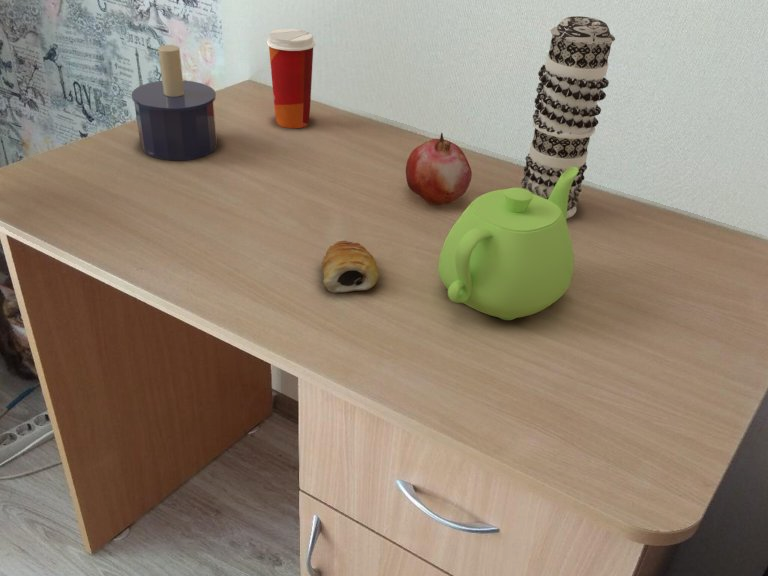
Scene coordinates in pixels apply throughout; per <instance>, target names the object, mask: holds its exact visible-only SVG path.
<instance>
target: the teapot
mask: <svg viewBox="0 0 768 576" xmlns="http://www.w3.org/2000/svg"><path fill="white" fill-rule="evenodd" d="M577 174H578V168H577V167H571V168H569V169H567V170H566V171H565V172H564V173H563V174H562V175H561V176H560V178H559V180H558V181H557V183H556V185H555V187H554V189H553V191H552V193H551V195H550V196H549V198H548V200H547V199H545V198H542V197H540V196H538V195H535V194H532V192H530V191H528V190H526V189H523V188H521V187H509V188H504V189H503V188H502V189H497V190H493V191H492V190H491V191H488V192H486V193H484V194H482V195H479V196H478V197H476V198H475V199H474V200H472V201H471V203H470V204H468V206H467V207H466V209H465V210H464V211H463V212H462V213H461V215H460V216H459V217H458V218H457V220H456V222H455V223H454V225H452V228H451V229H450V230H449V233H448V234H447V236H446V238H445V241H444V243H443V246H442V248H441V251H440V254H439V259H438V264H437V265H438V266H437V271H438V276H439V278H440V280H441V282H442V284H443V286H445V288H446V290H447V297H448V298H449V300H450V301H451V302H452V303H455V304H464V305H466V306H468V307H470V308H471V309H473V310H476V311H477V312H481V313H483V314H486V315H488V316H492V317H497V318H499V319H501V320H504V321H513V320H515V319H516V318H518V319H519V318H523V317H527V316H531V315H534V314H537V313H540V312H542V311H544V310H545V309H547V308H549V307H550V306H551V305H552V304H554V303H555V302H556V301H558V300H559V299H561V297H562V296H563V295H565V293H566V291H567V290H568V289H569V287H570V285H571V284H572V280H573V279H572V278H573V273H574V263H575V260H574V259H575V258H574V255H575V254H574V246H573V240H572V236H571V233H570V230H569V226H568V224H567V219H568V218H567V206H568V196H569V192H570V188H571V185H572V183H573V181H574V179H575V177H576V175H577Z"/></svg>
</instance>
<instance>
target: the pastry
mask: <svg viewBox="0 0 768 576" xmlns="http://www.w3.org/2000/svg"><path fill="white" fill-rule="evenodd" d="M321 268H322V274H323V281H322V283H323V285H324V287H326V289H327V291H329V292H331V293H334V294H337V293H339V294H340V293H349V292H353V291H354V292H355V291H357V292H358V291H368V290H370V289H371V288H373V287H374V286H375V285H376V284H377V282H378V280H379V277H380V272H379V267H378V265H377V261H376V259H375V258H374V256H373V255H372V254H371V253H370V252H369V251H368V250H367V248H366V247H364V246H363V245H362V244H360V243H359V242H353V241H348V240H339V241H337V242H335V243H334V244H333V245H330V246H329V247H328V248H327V250H326V252H325V255H324V256H323V259H322V262H321Z"/></svg>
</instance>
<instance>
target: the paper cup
mask: <svg viewBox="0 0 768 576" xmlns="http://www.w3.org/2000/svg"><path fill="white" fill-rule="evenodd" d="M266 44H267V47H268V50H269V63H270V72H271V73H270V74H271V85H272V95H273V106H274V115H275V123H276V125H278V126H280V127H282V128H286V129H301V128H305V127H307V126H309V124H310V114H311V100H312V98H311V97H312V82H313V81H312V79H313V64H314V63H313V61H314V60H313V59H314V47H315V46H316V42H315V40H314V36H313V34H312V33H310V32H307V31H305V30H303V29H300V28H299V29H298V28H279V29H274V30H271V31H270V33H269V36H268V38H267V41H266Z"/></svg>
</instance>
